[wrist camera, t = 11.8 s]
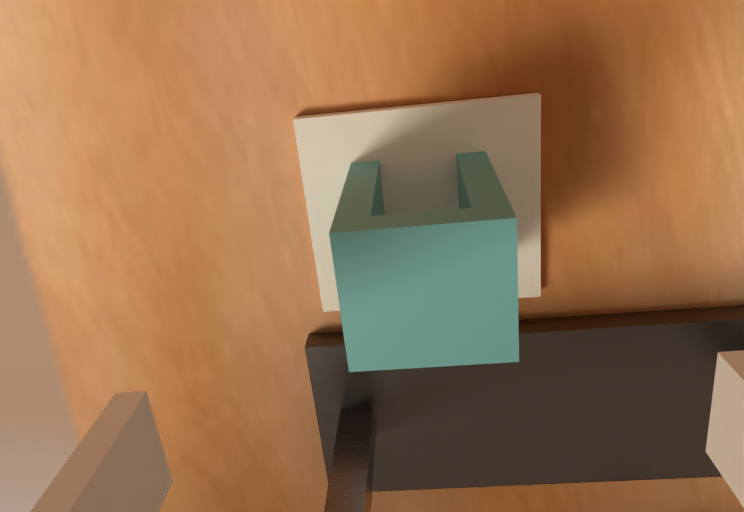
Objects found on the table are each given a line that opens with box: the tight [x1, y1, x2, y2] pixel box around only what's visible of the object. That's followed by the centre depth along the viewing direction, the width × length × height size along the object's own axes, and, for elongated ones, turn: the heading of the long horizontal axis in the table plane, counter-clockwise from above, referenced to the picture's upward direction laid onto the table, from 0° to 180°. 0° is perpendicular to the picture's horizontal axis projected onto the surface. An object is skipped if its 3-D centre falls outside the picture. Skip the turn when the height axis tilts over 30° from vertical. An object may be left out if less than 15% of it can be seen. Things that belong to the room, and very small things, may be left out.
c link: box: [329, 151, 519, 372], centre depth 23 cm, size 5×6×8 cm
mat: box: [293, 93, 541, 312], centre depth 27 cm, size 10×9×1 cm
